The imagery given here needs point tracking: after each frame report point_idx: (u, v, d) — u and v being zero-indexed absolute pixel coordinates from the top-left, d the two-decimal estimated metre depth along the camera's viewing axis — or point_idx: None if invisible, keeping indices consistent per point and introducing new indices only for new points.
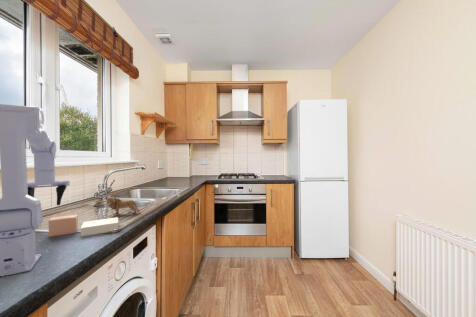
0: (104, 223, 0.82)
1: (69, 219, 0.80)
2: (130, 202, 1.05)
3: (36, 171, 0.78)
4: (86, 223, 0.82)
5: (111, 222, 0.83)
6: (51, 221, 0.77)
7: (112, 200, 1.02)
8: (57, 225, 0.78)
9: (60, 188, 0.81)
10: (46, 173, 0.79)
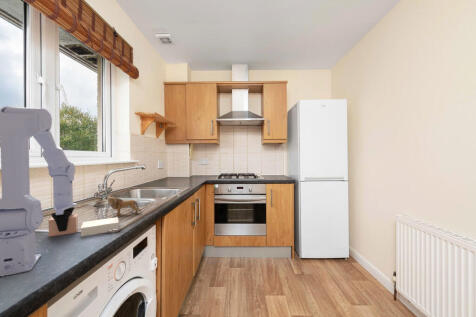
0: (104, 223, 0.82)
1: (69, 219, 0.80)
2: (132, 202, 1.05)
3: None
4: (86, 223, 0.82)
5: (111, 222, 0.83)
6: (51, 221, 0.77)
7: (114, 200, 1.02)
8: None
9: None
10: (53, 197, 0.78)
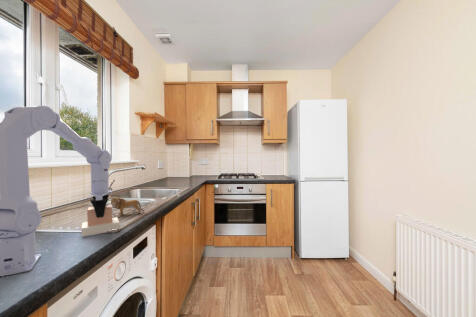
0: (105, 223, 0.82)
1: (106, 209, 0.82)
2: (134, 202, 1.06)
3: None
4: (86, 223, 0.82)
5: (112, 222, 0.83)
6: (89, 210, 0.80)
7: (117, 200, 1.02)
8: (95, 214, 0.80)
9: None
10: (91, 183, 0.81)
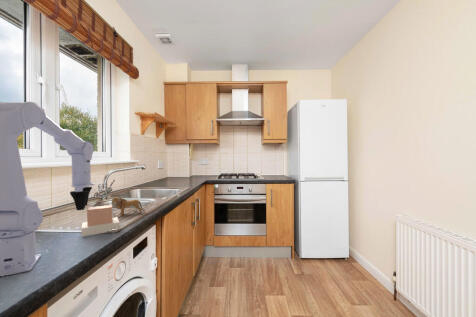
0: (105, 223, 0.82)
1: (105, 209, 0.82)
2: (135, 202, 1.06)
3: None
4: (86, 223, 0.82)
5: (112, 222, 0.83)
6: (89, 210, 0.79)
7: (118, 200, 1.02)
8: (95, 214, 0.80)
9: None
10: (72, 175, 0.79)
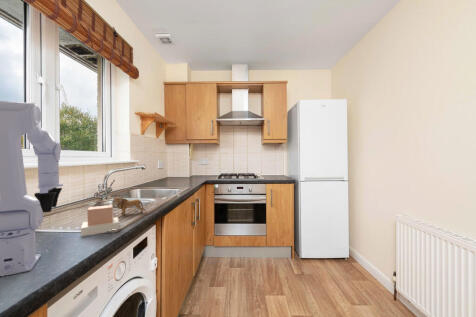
0: (104, 223, 0.82)
1: (106, 209, 0.82)
2: (137, 201, 1.06)
3: None
4: (86, 223, 0.82)
5: None
6: (90, 210, 0.80)
7: (119, 200, 1.02)
8: (95, 214, 0.81)
9: None
10: (38, 176, 0.76)
